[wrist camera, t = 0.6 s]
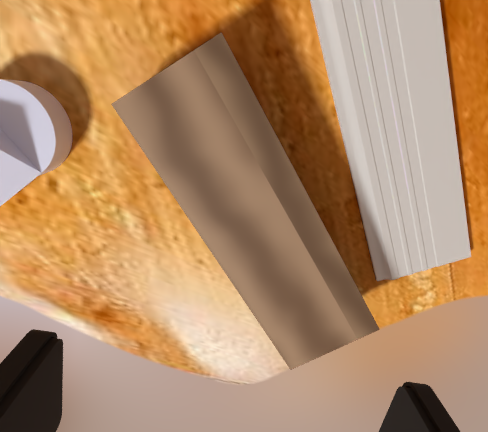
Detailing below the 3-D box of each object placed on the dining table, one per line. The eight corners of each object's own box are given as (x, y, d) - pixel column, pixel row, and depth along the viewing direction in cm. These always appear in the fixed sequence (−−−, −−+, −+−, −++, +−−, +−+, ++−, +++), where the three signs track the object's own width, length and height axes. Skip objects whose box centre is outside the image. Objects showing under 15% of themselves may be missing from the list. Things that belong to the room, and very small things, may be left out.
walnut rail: (224, 42, 31) (221, 32, 26) (361, 299, 41) (379, 329, 36) (131, 102, 33) (111, 104, 28) (284, 336, 42) (290, 369, 37)
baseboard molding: (362, 280, 41) (462, 250, 40) (371, 294, 38) (479, 262, 37) (290, -4, 31) (422, -55, 29) (295, -14, 28) (441, -71, 27)
